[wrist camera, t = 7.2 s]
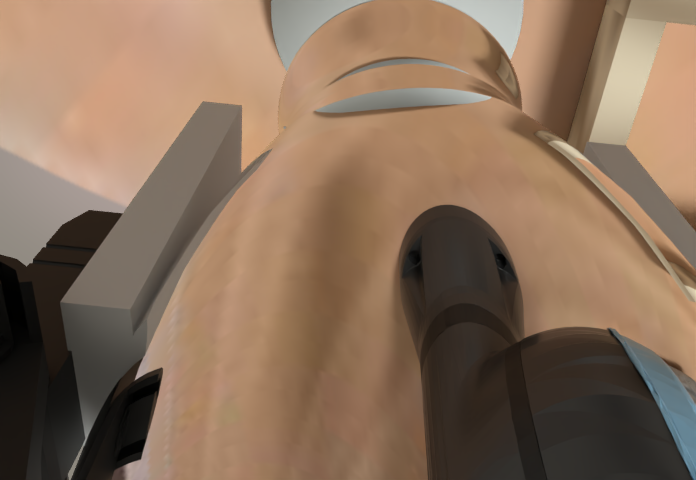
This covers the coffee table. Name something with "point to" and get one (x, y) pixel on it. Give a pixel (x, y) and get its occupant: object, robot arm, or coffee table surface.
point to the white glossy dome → (324, 3)
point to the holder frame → (622, 67)
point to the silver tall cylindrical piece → (411, 290)
